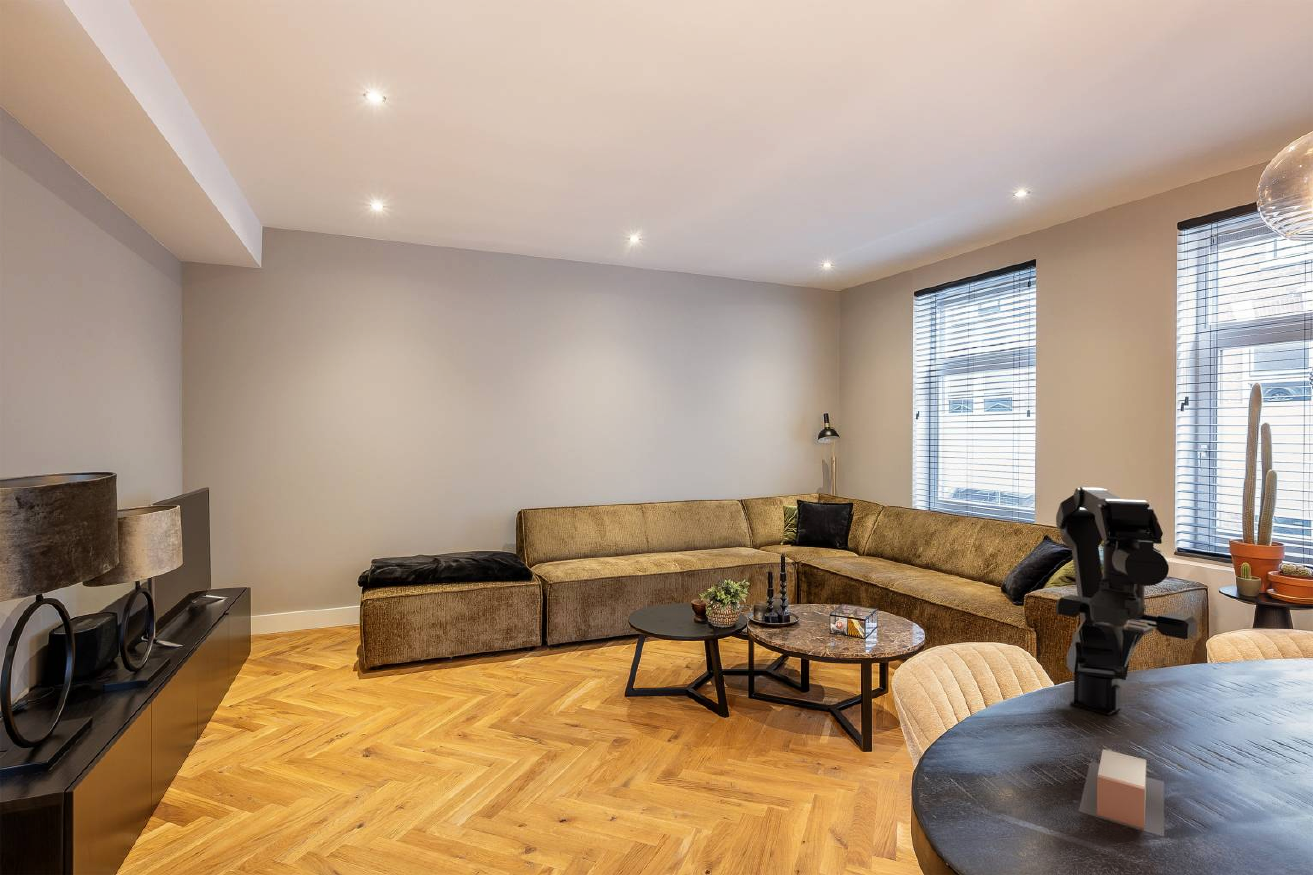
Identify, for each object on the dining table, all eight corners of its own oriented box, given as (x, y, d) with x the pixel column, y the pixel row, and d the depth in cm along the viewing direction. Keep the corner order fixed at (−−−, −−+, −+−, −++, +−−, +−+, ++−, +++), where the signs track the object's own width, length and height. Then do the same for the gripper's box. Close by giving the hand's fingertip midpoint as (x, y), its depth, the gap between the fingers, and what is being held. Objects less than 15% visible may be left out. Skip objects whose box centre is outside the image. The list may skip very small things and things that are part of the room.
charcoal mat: (1089, 765, 101) (1089, 762, 101) (1164, 785, 95) (1164, 781, 95) (1078, 814, 87) (1078, 810, 87) (1164, 840, 82) (1164, 836, 82)
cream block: (1102, 748, 94) (1097, 776, 86) (1146, 759, 91) (1144, 789, 83) (1102, 783, 94) (1096, 814, 86) (1145, 795, 91) (1144, 828, 83)
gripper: (1043, 569, 113) (1041, 660, 113) (1177, 590, 98) (1175, 694, 98) (1069, 563, 120) (1068, 648, 120) (1198, 581, 105) (1197, 679, 105)
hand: (1122, 666), depth 111 cm, fingers closed
